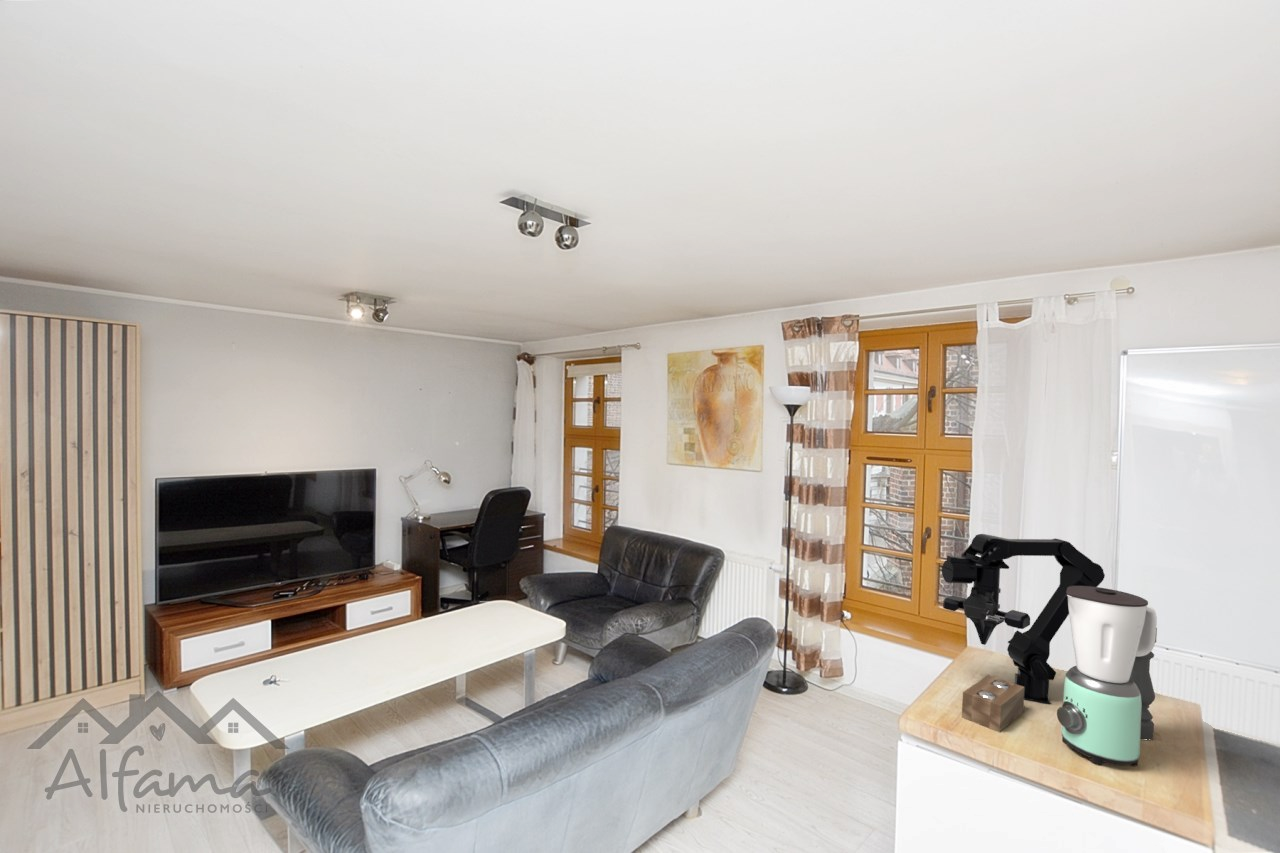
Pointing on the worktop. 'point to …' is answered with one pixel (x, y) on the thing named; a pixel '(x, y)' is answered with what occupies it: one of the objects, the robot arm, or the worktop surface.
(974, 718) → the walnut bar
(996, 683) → the back peg
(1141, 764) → the worktop surface
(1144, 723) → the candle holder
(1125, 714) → the mint green blender
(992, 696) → the front peg
